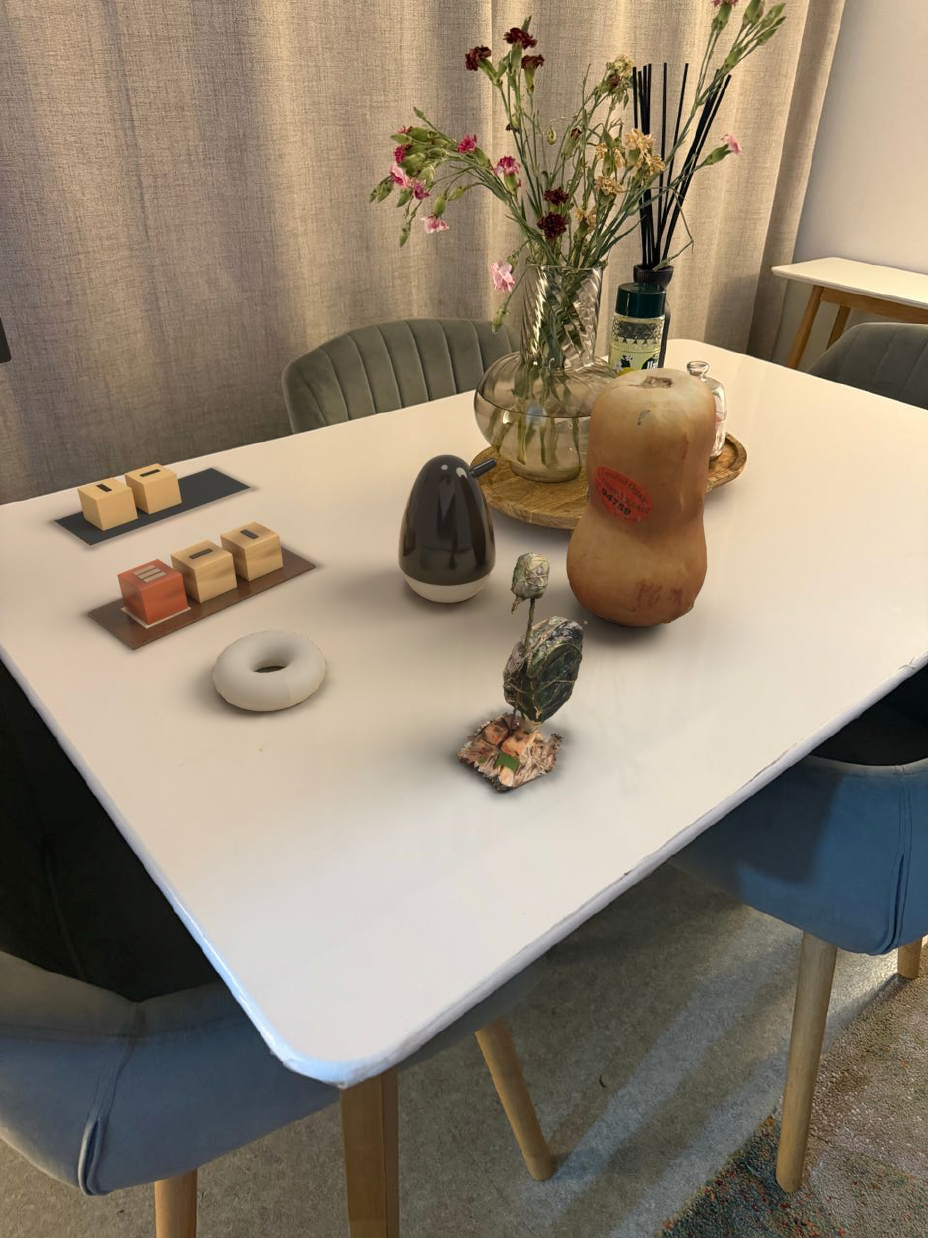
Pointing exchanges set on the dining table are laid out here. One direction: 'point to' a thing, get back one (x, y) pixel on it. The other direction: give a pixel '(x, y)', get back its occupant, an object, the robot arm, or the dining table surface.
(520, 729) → the plant with pod
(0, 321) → the robot arm
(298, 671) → the donut
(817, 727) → the dining table surface
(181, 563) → the walnut word
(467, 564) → the pump dispenser
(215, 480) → the slate word
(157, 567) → the red wooden slotted cube
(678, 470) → the butternut squash
